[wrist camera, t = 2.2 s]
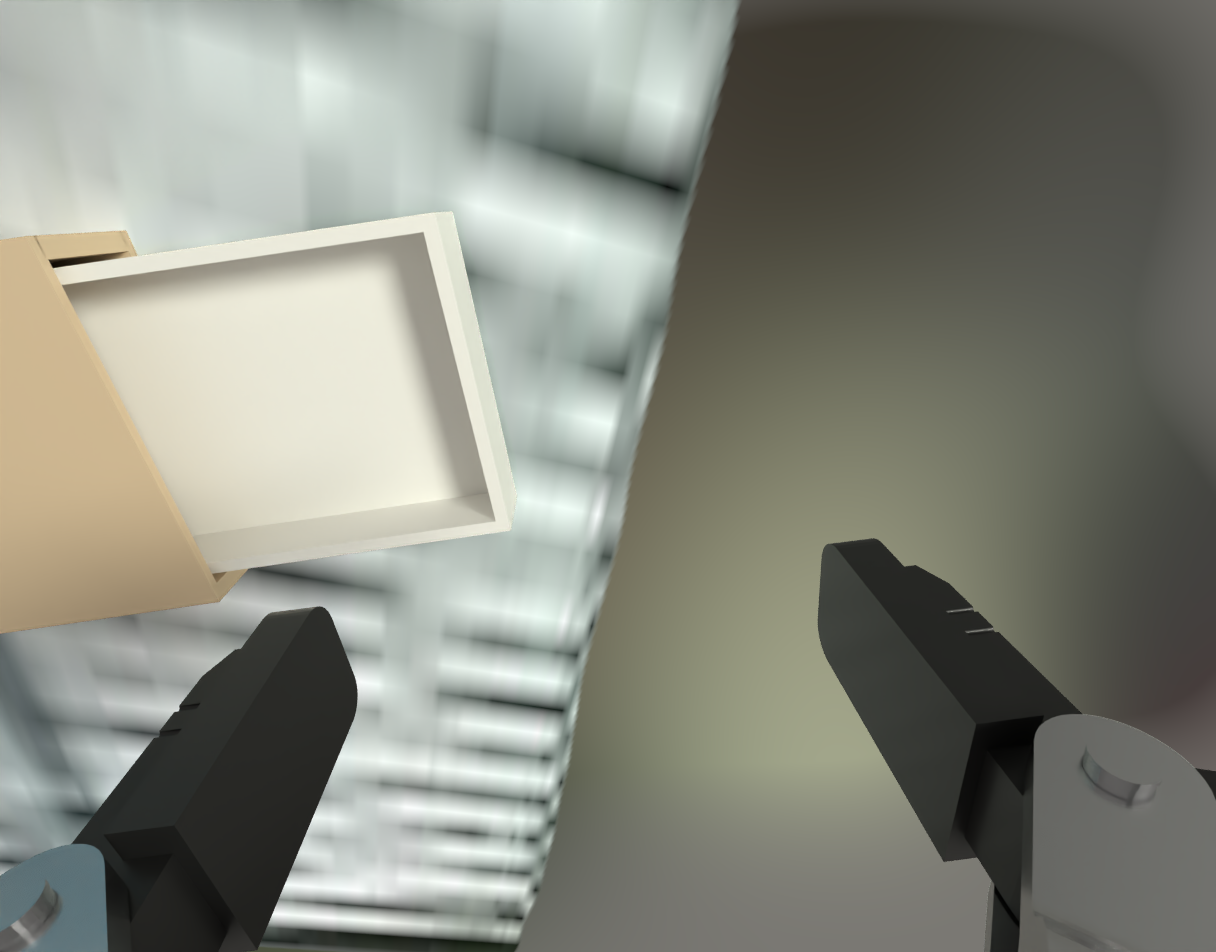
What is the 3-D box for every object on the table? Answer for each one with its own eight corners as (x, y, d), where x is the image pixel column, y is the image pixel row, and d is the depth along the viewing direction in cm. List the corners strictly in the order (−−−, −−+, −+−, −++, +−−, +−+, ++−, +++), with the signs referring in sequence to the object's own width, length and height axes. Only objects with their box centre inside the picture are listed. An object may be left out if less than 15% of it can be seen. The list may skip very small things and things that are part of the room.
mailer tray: (452, 211, 24) (435, 212, 21) (517, 496, 30) (511, 530, 27) (-290, 320, 24) (-418, 336, 21) (-81, 583, 30) (-157, 627, 27)
